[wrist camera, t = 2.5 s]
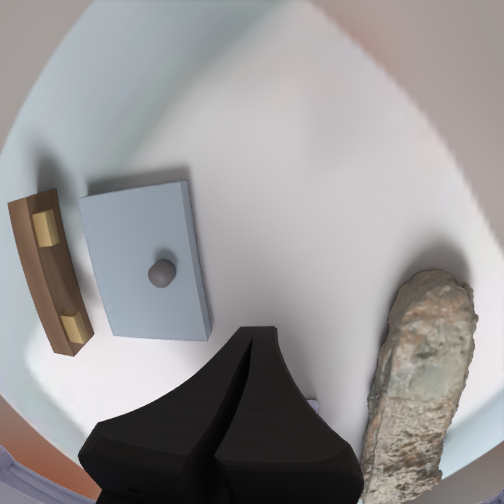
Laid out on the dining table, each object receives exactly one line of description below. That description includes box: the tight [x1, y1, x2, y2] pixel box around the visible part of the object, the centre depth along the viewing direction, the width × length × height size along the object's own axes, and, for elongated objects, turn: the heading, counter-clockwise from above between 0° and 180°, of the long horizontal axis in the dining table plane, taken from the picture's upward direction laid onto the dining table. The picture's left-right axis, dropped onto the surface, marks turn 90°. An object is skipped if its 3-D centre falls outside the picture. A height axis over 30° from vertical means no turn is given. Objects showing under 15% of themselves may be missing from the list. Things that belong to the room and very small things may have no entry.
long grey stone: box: [360, 270, 479, 504], centre depth 22 cm, size 35×5×10 cm
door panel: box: [78, 180, 211, 341], centre depth 20 cm, size 8×11×3 cm
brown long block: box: [8, 189, 94, 357], centre depth 21 cm, size 4×13×4 cm, turn 5°
